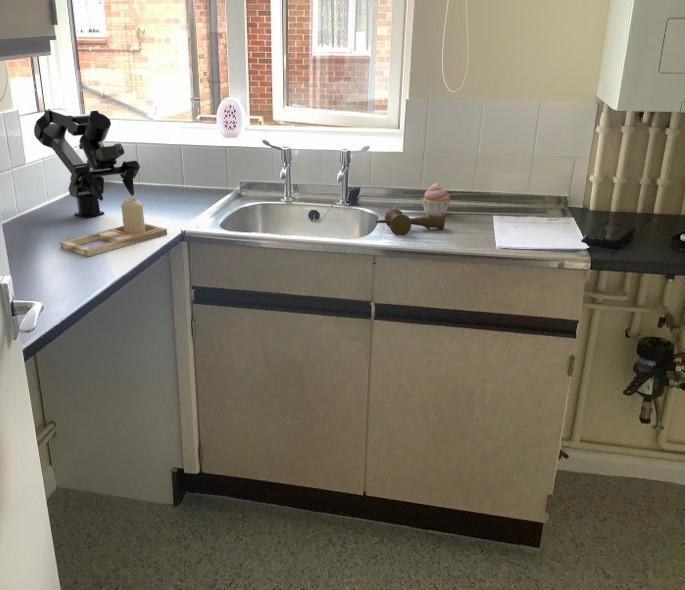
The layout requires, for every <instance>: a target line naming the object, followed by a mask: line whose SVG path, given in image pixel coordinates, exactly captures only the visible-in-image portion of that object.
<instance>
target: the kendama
mask: <svg viewBox="0 0 685 590" xmlns="http://www.w3.org/2000/svg"><path fill="white" fill-rule="evenodd" d="M375 223H377V224H386V226H388V227H389V228H390V230H391V232H392V234H393V235H396V236H405V235H407V234H409V232H410V231H411V228H412V226H413V225H415V226H418V227H419V226H420V227H424V228H425V229H427V230H429V229H431V228H435V229H438V230H440V231H443V230H444V228H445V225H446V217H445V216H444V214H443V213H441V212H440V213H439V214H437V215H430V214H424V215H423V216H417V217H413V218H410V217H409V216H408V215H406V214H403V212H402V210H401V209H397V208H393V209H389V210H387V212H386V213H385V216H384V219H380V220H375Z"/></svg>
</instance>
